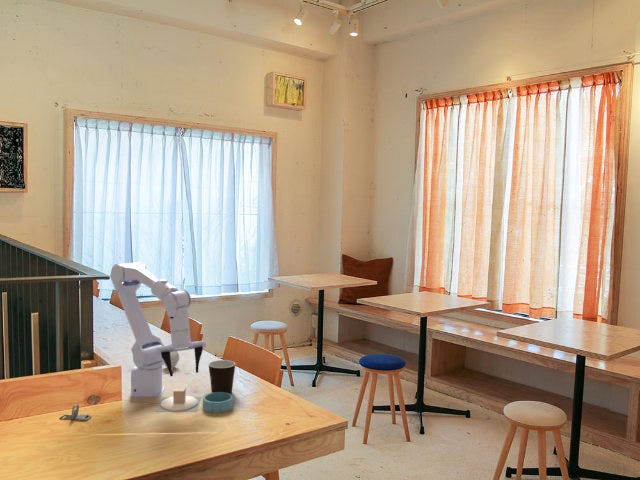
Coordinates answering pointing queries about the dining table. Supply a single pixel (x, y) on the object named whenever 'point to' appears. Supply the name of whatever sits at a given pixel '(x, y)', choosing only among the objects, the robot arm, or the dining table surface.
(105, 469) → the dining table surface
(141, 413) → the dining table surface
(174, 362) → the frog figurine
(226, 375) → the coffee mug
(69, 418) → the strap clip
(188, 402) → the lid
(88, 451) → the dining table surface
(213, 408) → the bowl
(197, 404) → the mat
